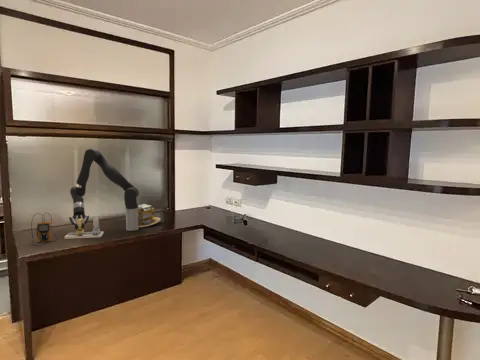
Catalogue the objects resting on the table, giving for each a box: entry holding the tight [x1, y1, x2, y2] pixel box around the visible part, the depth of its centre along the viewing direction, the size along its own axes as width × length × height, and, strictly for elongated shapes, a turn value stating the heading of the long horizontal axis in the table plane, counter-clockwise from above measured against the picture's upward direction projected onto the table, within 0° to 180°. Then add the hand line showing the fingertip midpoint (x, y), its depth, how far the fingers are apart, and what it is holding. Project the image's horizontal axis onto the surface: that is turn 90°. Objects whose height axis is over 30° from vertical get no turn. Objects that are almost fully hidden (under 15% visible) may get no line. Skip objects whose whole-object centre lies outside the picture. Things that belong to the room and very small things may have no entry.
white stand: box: [64, 217, 105, 240], centre depth 237 cm, size 24×10×13 cm, turn 102°
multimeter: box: [30, 212, 58, 246], centre depth 220 cm, size 15×10×20 cm
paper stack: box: [138, 203, 161, 228], centre depth 273 cm, size 25×25×17 cm
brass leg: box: [75, 218, 85, 235], centre depth 235 cm, size 4×6×11 cm
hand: (79, 228), depth 234 cm, fingers closed on brass leg, 3 cm apart
